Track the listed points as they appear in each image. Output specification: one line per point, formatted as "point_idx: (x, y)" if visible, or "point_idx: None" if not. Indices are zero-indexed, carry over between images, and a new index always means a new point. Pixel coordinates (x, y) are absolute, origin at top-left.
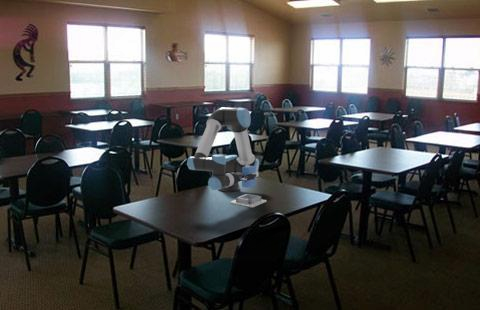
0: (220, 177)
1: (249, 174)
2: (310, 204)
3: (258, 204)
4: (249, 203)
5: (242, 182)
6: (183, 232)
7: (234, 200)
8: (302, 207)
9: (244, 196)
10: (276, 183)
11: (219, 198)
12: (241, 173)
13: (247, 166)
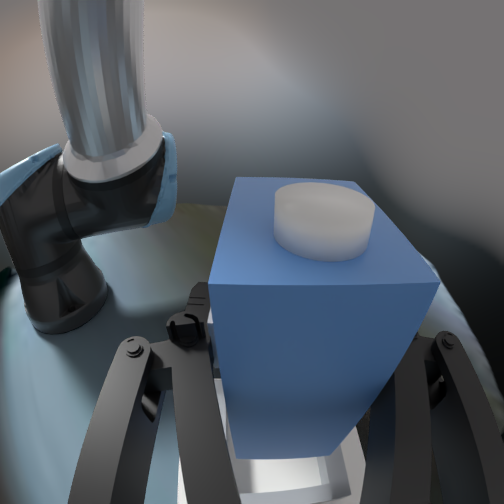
0: None
1: (399, 370)
2: (446, 293)
3: (358, 448)
4: (337, 499)
5: (242, 445)
6: None
7: (183, 490)
8: (469, 329)
9: (226, 432)
10: (195, 207)
11: (65, 447)
12: (216, 398)
13: (367, 227)
